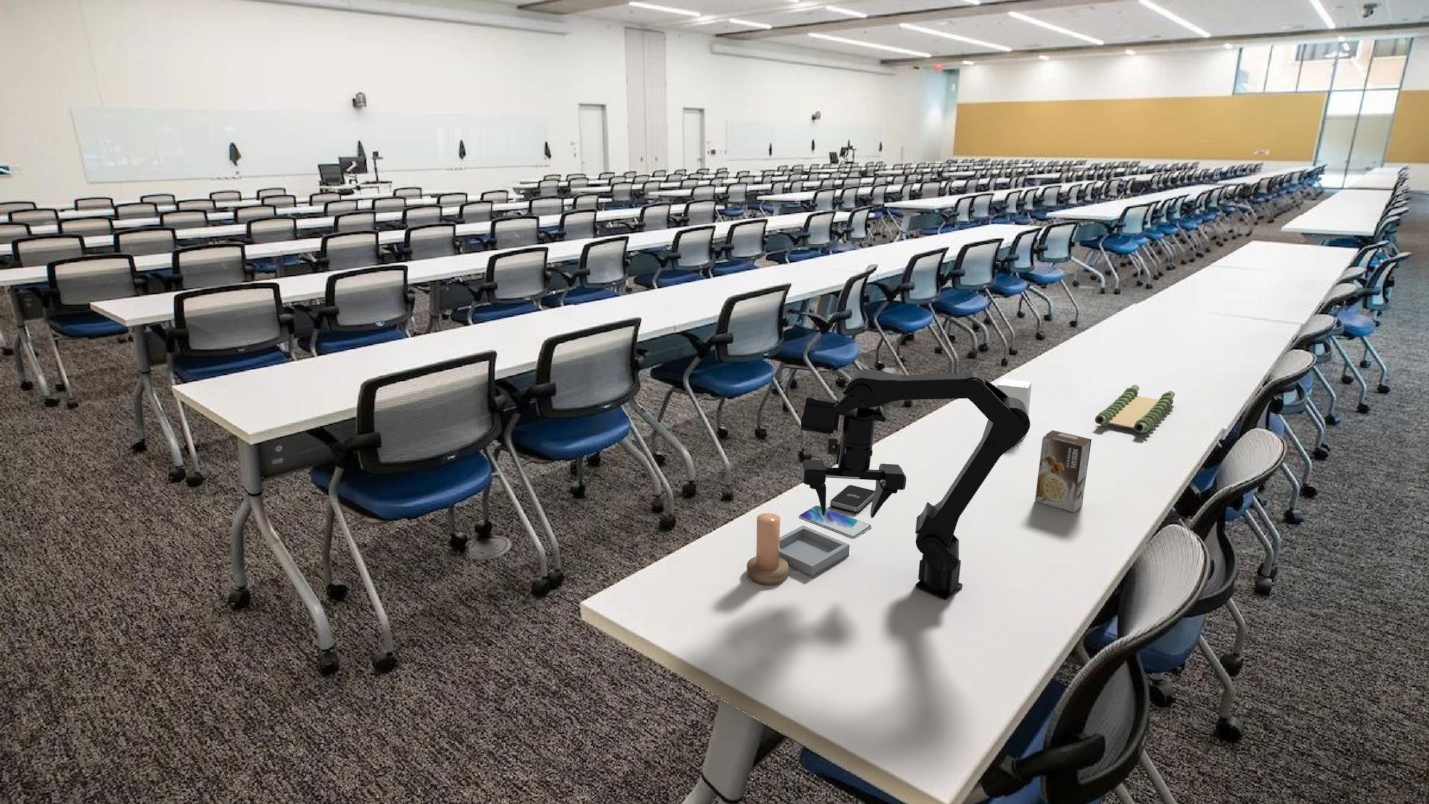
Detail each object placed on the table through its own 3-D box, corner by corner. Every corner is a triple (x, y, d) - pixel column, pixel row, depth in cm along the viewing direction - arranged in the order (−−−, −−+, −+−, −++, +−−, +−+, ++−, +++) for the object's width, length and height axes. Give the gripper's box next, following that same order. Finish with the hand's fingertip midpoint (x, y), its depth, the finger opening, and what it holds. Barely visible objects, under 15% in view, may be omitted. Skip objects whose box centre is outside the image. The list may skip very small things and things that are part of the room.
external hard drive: (876, 498, 186) (876, 491, 185) (856, 516, 177) (857, 508, 176) (848, 492, 190) (849, 484, 189) (828, 509, 181) (829, 501, 180)
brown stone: (796, 574, 153) (796, 565, 152) (769, 590, 148) (769, 580, 147) (765, 559, 158) (765, 550, 158) (738, 574, 153) (738, 565, 152)
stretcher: (1144, 442, 220) (1147, 425, 218) (1089, 430, 228) (1091, 414, 227) (1176, 405, 249) (1179, 390, 248) (1126, 397, 258) (1129, 382, 256)
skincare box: (1027, 434, 225) (1033, 382, 220) (1021, 441, 219) (1028, 388, 215) (996, 429, 229) (1002, 377, 224) (990, 436, 224) (996, 383, 219)
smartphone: (854, 537, 166) (797, 515, 176) (854, 541, 167) (797, 519, 176) (873, 525, 171) (816, 504, 181) (872, 528, 172) (816, 507, 181)
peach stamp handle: (783, 565, 152) (784, 518, 149) (768, 573, 149) (769, 526, 146) (766, 557, 155) (767, 511, 152) (751, 565, 152) (752, 518, 149)
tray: (849, 555, 160) (849, 544, 159) (812, 577, 152) (812, 566, 151) (802, 535, 168) (802, 525, 167) (765, 556, 160) (765, 545, 159)
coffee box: (1083, 504, 182) (1094, 438, 177) (1073, 513, 177) (1083, 446, 172) (1043, 492, 188) (1052, 429, 183) (1033, 501, 183) (1041, 436, 178)
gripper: (898, 425, 152) (887, 499, 157) (801, 420, 151) (794, 494, 156) (912, 448, 141) (900, 526, 146) (808, 442, 141) (799, 520, 146)
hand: (847, 515), depth 149 cm, fingers open, 9 cm apart
